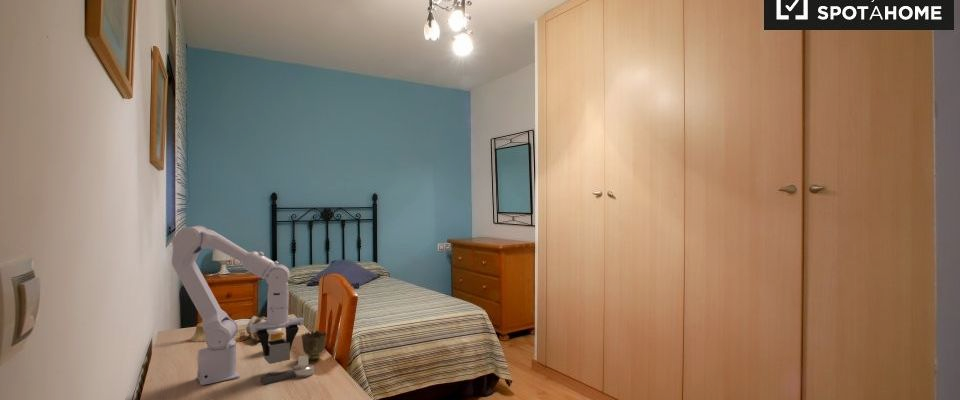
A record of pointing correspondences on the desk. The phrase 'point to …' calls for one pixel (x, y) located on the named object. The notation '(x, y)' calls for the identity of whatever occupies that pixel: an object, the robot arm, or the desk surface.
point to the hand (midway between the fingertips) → (277, 353)
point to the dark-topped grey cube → (278, 351)
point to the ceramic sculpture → (254, 321)
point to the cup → (313, 344)
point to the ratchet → (290, 372)
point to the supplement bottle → (275, 334)
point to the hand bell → (198, 334)
